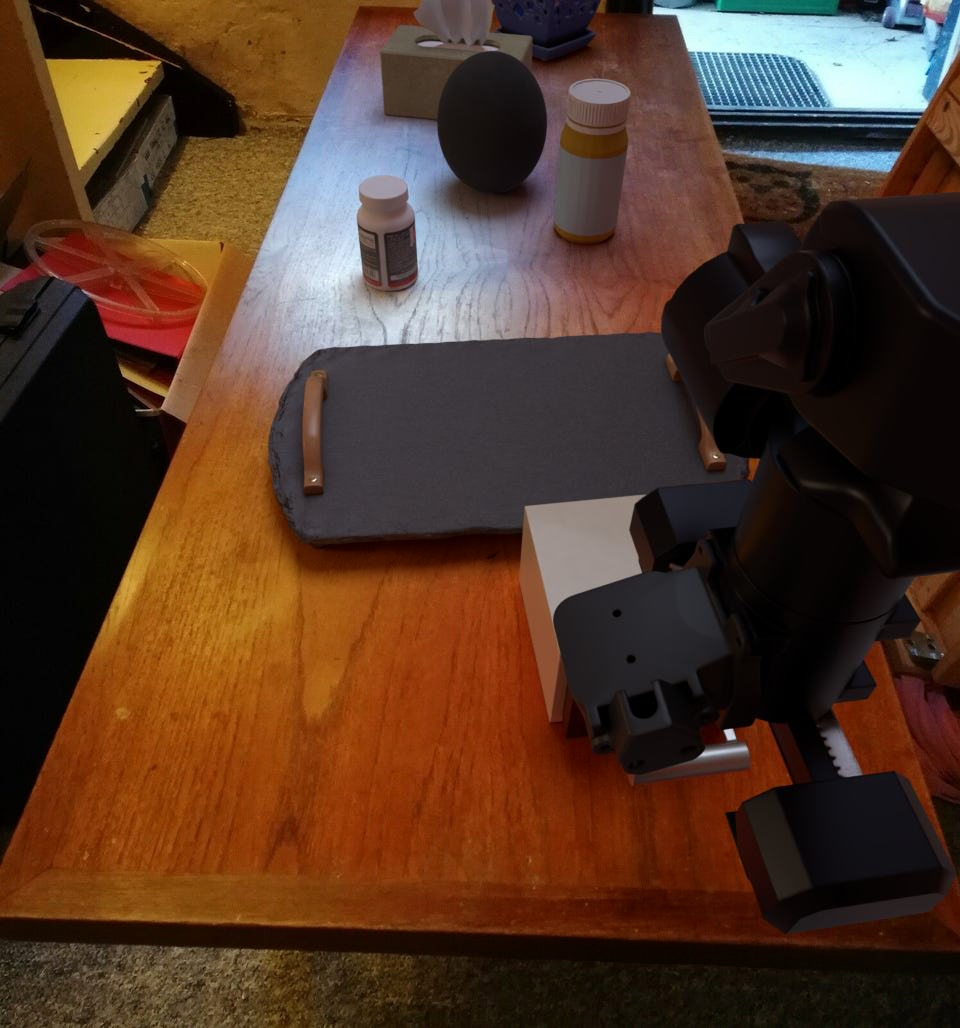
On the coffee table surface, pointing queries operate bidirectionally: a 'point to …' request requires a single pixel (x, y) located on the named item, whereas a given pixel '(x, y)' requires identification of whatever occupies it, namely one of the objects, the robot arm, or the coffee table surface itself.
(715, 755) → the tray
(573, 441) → the serving tray
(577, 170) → the bottle
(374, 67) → the coffee table surface
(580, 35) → the flower pot
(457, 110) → the decorative egg
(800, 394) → the robot arm
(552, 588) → the grey drawer unit
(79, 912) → the coffee table surface
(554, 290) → the coffee table surface
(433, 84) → the tissue box
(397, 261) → the pill bottle
